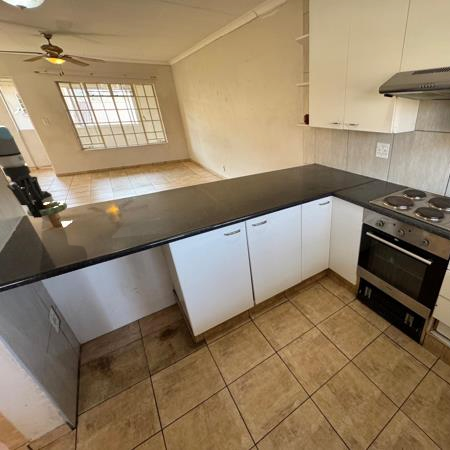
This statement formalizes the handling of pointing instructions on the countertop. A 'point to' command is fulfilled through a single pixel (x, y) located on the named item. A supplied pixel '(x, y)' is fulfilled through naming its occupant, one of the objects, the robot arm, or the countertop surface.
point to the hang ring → (56, 208)
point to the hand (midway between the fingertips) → (41, 215)
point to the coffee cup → (47, 198)
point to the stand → (54, 220)
